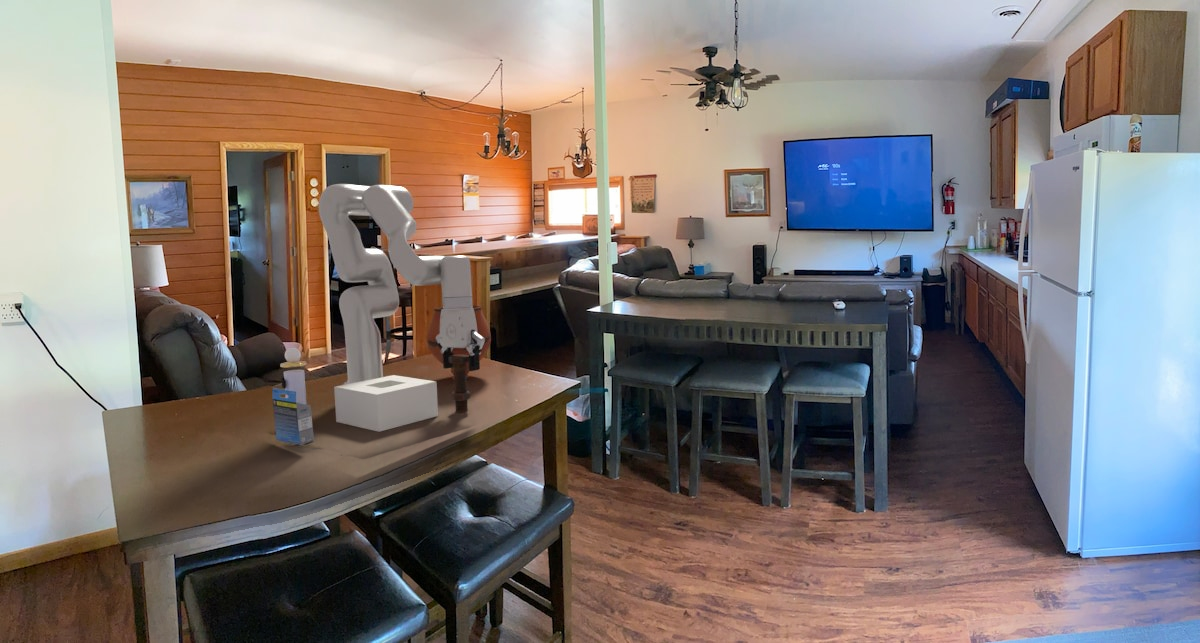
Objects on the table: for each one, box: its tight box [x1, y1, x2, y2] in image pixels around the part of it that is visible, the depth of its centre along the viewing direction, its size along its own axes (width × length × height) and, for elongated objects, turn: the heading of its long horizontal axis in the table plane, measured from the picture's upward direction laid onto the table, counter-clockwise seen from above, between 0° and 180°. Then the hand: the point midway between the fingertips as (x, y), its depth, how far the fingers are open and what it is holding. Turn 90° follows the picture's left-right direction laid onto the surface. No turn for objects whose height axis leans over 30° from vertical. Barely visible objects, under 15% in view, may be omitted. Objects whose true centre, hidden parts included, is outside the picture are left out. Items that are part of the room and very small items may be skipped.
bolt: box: [449, 354, 471, 413], centre depth 181 cm, size 6×5×15 cm
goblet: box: [426, 305, 492, 381], centre depth 213 cm, size 19×19×25 cm
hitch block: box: [333, 374, 439, 433], centre depth 176 cm, size 17×18×9 cm
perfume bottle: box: [279, 346, 307, 404], centre depth 167 cm, size 6×6×20 cm
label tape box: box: [272, 387, 315, 445], centre depth 157 cm, size 9×4×12 cm, turn 59°
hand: (461, 369), depth 180 cm, fingers open, 9 cm apart
